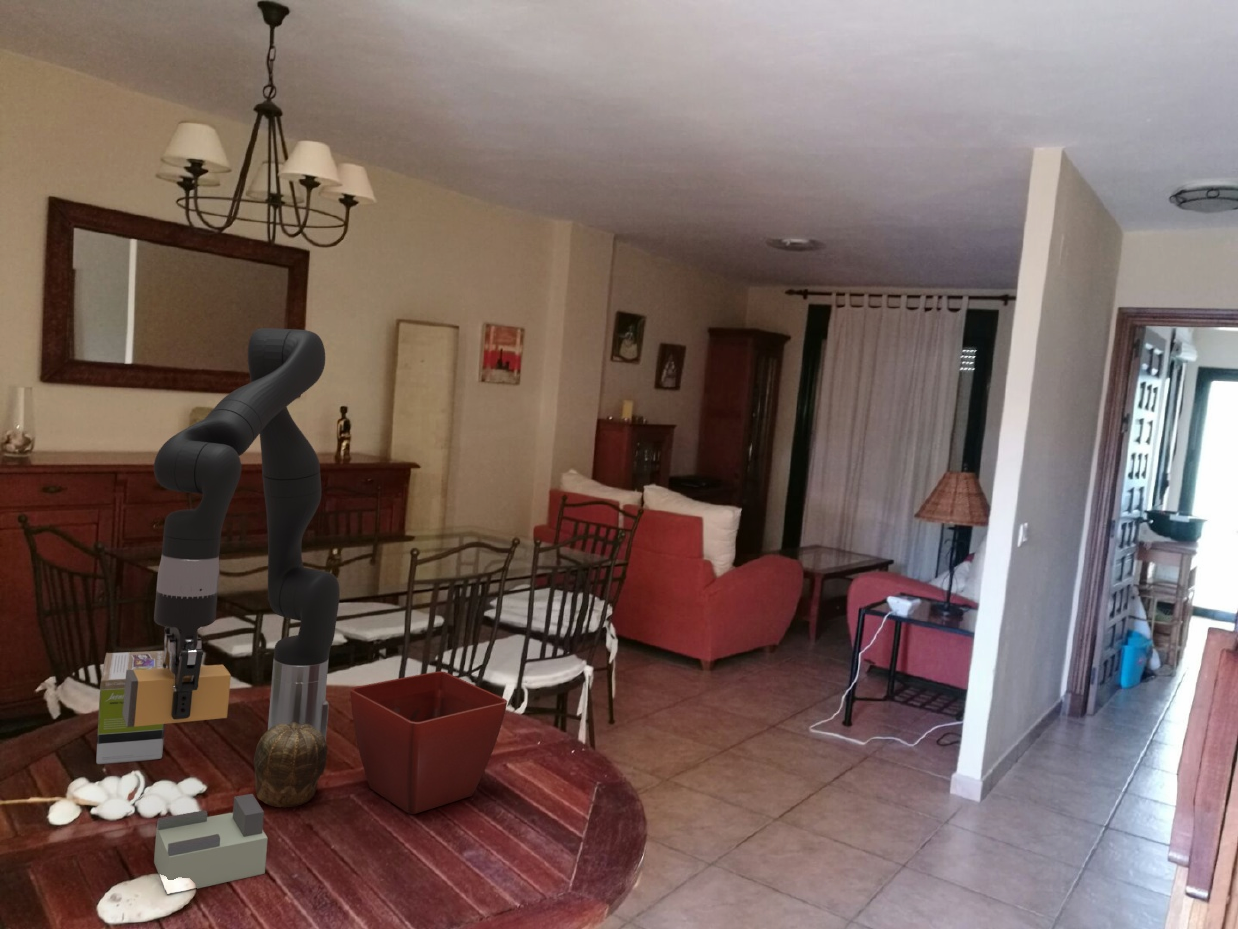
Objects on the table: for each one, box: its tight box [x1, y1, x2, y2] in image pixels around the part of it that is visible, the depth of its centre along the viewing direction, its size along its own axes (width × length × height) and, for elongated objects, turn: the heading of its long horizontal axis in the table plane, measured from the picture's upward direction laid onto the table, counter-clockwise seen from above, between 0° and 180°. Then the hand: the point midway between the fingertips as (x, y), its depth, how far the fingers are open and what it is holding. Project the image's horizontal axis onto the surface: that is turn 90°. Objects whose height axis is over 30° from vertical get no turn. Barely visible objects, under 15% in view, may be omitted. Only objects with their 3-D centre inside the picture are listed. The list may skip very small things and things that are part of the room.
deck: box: [153, 793, 268, 889], centre depth 120 cm, size 12×9×8 cm
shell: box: [253, 722, 328, 809], centre depth 142 cm, size 11×11×12 cm
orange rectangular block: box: [122, 664, 232, 727], centre depth 122 cm, size 12×5×6 cm, turn 125°
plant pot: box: [349, 670, 508, 815], centre depth 149 cm, size 19×19×17 cm
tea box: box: [95, 650, 166, 765], centre depth 155 cm, size 15×10×15 cm, turn 27°
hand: (176, 710), depth 122 cm, fingers closed on orange rectangular block, 5 cm apart
